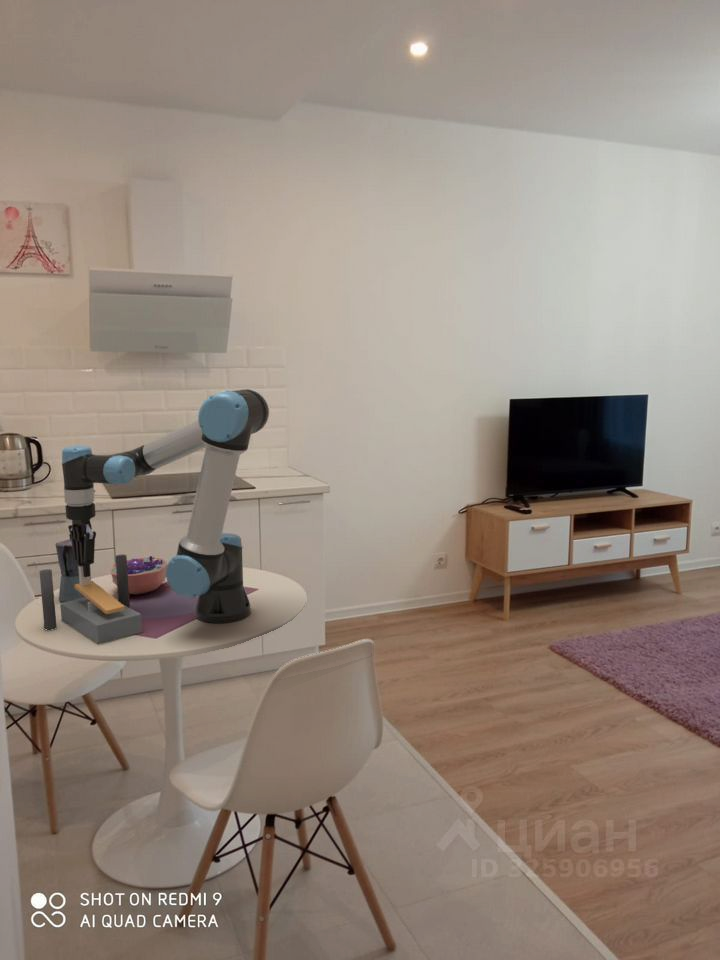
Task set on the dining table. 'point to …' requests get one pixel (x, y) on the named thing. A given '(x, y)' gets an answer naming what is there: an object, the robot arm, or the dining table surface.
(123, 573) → the post
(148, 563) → the cell model
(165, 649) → the dining table surface
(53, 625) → the post
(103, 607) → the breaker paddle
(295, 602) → the dining table surface
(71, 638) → the dining table surface
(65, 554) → the moka pot
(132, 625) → the block
